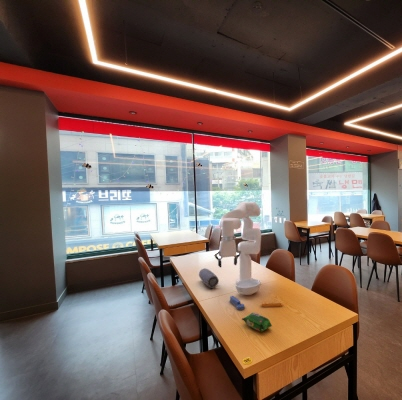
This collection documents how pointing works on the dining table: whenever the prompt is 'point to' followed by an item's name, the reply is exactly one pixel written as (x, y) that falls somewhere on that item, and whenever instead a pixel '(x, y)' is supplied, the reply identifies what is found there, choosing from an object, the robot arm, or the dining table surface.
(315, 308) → the dining table surface
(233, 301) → the blue notched block
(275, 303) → the fry
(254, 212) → the robot arm
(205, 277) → the bluetooth speaker
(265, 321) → the snack package
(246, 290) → the cereal bowl
